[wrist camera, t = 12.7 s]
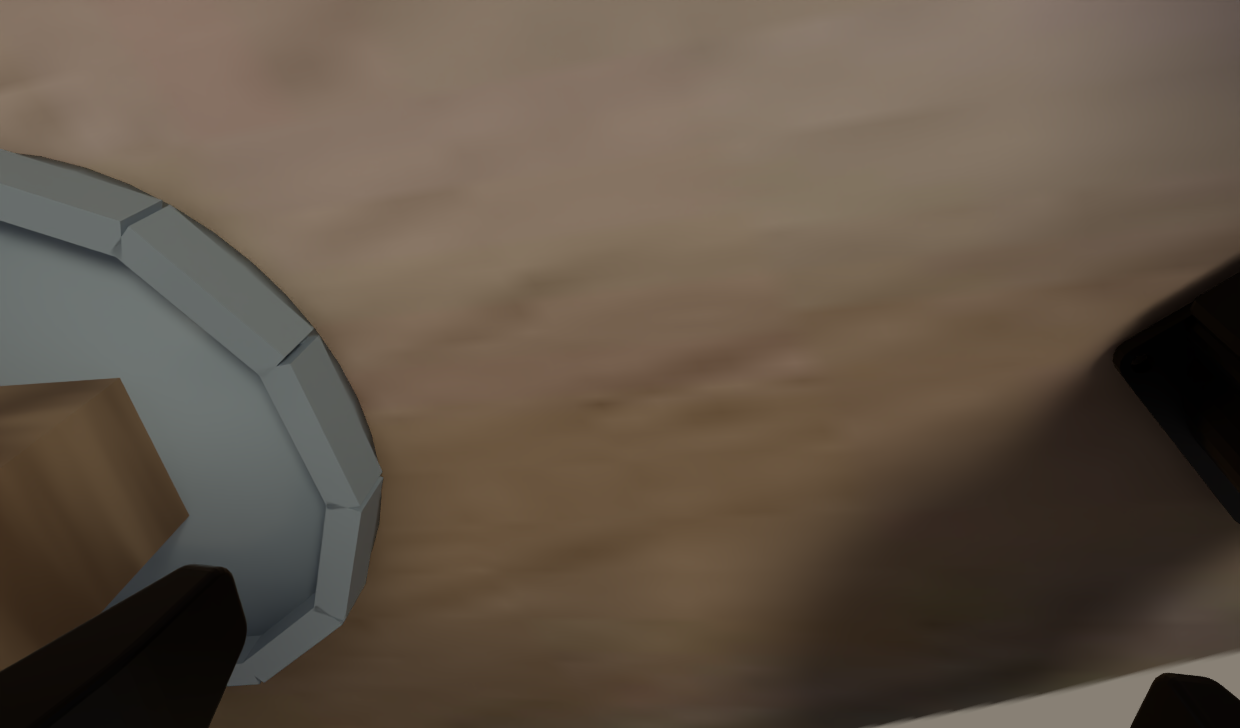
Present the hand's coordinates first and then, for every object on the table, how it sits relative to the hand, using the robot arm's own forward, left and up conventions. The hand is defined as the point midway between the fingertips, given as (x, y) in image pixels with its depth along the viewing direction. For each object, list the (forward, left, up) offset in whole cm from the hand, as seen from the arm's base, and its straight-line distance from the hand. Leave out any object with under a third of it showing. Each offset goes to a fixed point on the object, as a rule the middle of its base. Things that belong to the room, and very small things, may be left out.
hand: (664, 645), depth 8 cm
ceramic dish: (+7, +19, -13) cm, 24 cm away
